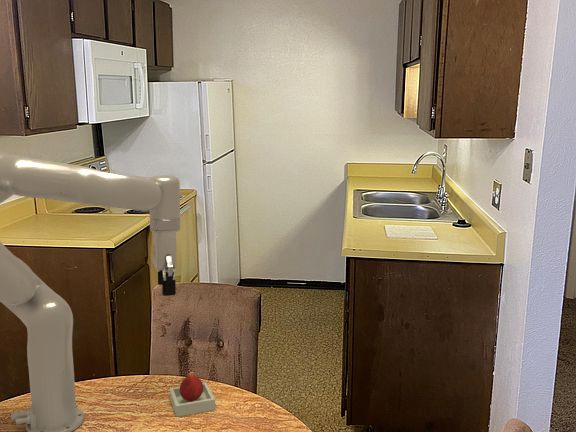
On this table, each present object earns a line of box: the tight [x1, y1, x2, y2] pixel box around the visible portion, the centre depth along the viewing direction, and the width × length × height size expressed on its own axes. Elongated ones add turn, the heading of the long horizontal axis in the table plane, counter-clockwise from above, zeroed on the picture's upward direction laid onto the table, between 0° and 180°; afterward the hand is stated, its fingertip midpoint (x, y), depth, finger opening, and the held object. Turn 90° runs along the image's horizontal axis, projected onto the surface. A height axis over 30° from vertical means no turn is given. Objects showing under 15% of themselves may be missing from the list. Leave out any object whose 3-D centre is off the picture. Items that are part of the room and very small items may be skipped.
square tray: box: [169, 382, 216, 418], centre depth 142 cm, size 10×10×3 cm
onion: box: [179, 371, 203, 402], centre depth 142 cm, size 6×6×8 cm
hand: (166, 289), depth 146 cm, fingers open, 9 cm apart
